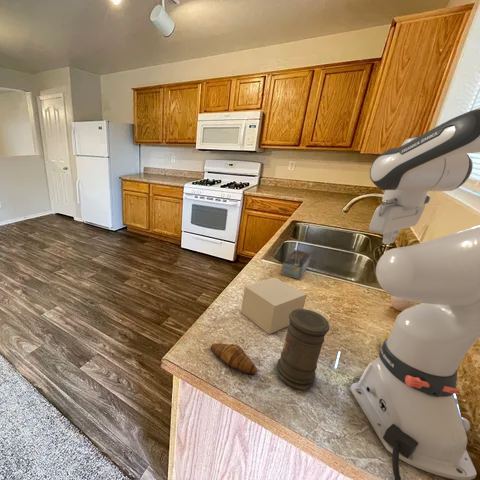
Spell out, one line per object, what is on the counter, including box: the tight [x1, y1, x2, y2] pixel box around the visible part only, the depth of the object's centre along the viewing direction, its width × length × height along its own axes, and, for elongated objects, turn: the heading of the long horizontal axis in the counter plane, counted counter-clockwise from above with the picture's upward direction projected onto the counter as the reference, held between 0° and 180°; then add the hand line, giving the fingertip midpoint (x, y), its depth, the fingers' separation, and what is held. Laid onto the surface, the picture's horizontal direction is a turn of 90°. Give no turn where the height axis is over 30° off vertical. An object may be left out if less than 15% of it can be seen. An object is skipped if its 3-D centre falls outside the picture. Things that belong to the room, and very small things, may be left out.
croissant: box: [210, 342, 258, 376], centre depth 72 cm, size 14×7×5 cm, turn 48°
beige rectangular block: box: [240, 276, 307, 335], centre depth 90 cm, size 15×13×11 cm
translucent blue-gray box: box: [281, 249, 312, 280], centre depth 124 cm, size 8×19×7 cm, turn 140°
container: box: [275, 308, 330, 391], centre depth 66 cm, size 9×9×18 cm
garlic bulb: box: [390, 295, 415, 312], centre depth 95 cm, size 7×6×8 cm
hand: (387, 243), depth 79 cm, fingers closed
